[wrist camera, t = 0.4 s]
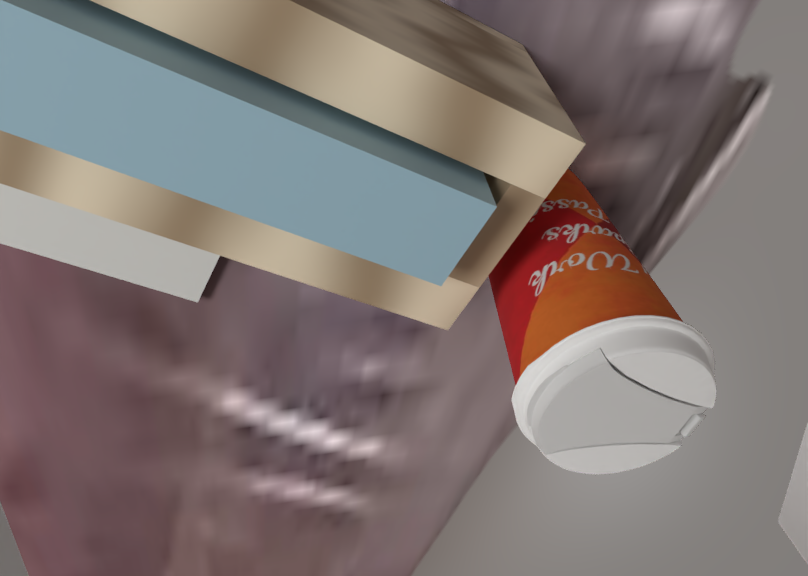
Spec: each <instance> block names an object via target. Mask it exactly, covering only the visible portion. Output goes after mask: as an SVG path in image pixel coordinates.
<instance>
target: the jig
mask: <svg viewBox="0 0 808 576" xmlns="http://www.w3.org/2000/svg"><path fill="white" fill-rule="evenodd" d="M90 1H93V2H95V3H97V4H100V5H102V6H104V7H106V8H109V9H111V10H113V11H116V12H118V13H120V14H122V15H125V16H127V17H129V18H132V19H134V20H136V21H139V22H141V23H143V24H145V25H148V26H150V27H152V28H155V29H157V30H159V31H161V32H164V33H166V34H168V35H171V36H173V37H175V38H178V39H180V40H182V41H184V42H187V43H189V44H191V45H194V46H196V47H198V48H200V49H203V50H205V51H207V52H210V53H212V54H214V55H217V56H219V57H221V58H223V59H226V60H228V61H230V62H233V63H235V64H237V65H239V66H242V67H244V68H246V69H249V70H251V71H253V72H256V73H258V74H260V75H262V76H265V77H267V78H269V79H272V80H274V81H276V82H278V83H281V84H283V85H285V86H288V87H290V88H292V89H295V90H297V91H299V92H301V93H304V94H306V95H308V96H311V97H313V98H315V99H317V100H320V101H322V102H324V103H327V104H329V105H331V106H334V107H336V108H338V109H340V110H343V111H345V112H347V113H350V114H352V115H354V116H356V117H359V118H361V119H363V120H366V121H368V122H370V123H373V124H375V125H377V126H379V127H382V128H384V129H386V130H389V131H391V132H393V133H395V134H398V135H400V136H402V137H405V138H407V139H409V140H412V141H414V142H416V143H418V144H421V145H423V146H425V147H428V148H430V149H432V150H434V151H437V152H439V153H441V154H444V155H446V156H448V157H451V158H453V159H455V160H457V161H460V162H462V163H464V164H467V165H469V166H471V167H473V168H476V169H478V170H480V171H483V173H484V176H485V178H486V181H487V183H488V186H489V188H490V191H491V193H492V196H493V198H494V201H495V203H496V206H497V208H496V209H495V210H494V212H493V213H492V215H491V216H490V218H489V219H488V220H487V222H486V223H485V225H484V226H483V227H482V229H481V230H480V232H479V233H478V235H477V236H476V237H475V239H474V240H473V242H472V243H471V245H470V246H469V247H468V249H467V250H466V252H465V253H464V255H463V256H462V257H461V259H460V260H459V262H458V263H457V264H456V266H455V267H454V269H453V270H452V272H451V273H450V274H449V276H448V277H447V279H446V280H445V282H444V283H443V284H442V286H439V285H436V284H433V283H430V282H428V281H425V280H422V279H419V278H416V277H414V276H411V275H408V274H405V273H402V272H399V271H397V270H394V269H391V268H388V267H385V266H382V265H380V264H377V263H374V262H371V261H368V260H366V259H363V258H360V257H357V256H354V255H351V254H349V253H346V252H343V251H340V250H337V249H334V248H332V247H329V246H326V245H323V244H320V243H318V242H315V241H312V240H309V239H306V238H303V237H301V236H298V235H295V234H292V233H289V232H286V231H284V230H281V229H278V228H275V227H272V226H269V225H267V224H264V223H261V222H258V221H255V220H253V219H250V218H247V217H244V216H241V215H238V214H236V213H233V212H230V211H227V210H224V209H221V208H219V207H216V206H213V205H210V204H207V203H205V202H202V201H199V200H196V199H193V198H190V197H188V196H185V195H182V194H179V193H176V192H173V191H171V190H168V189H165V188H162V187H159V186H157V185H154V184H151V183H148V182H145V181H142V180H140V179H137V178H134V177H131V176H128V175H125V174H123V173H120V172H117V171H114V170H111V169H109V168H106V167H103V166H100V165H97V164H94V163H92V162H89V161H86V160H83V159H80V158H77V157H75V156H72V155H69V154H66V153H63V152H61V151H58V150H55V149H52V148H49V147H46V146H44V145H41V144H38V143H35V142H32V141H29V140H27V139H24V138H21V137H18V136H15V135H12V134H10V133H7V132H4V131H1V130H0V183H1V184H4V185H7V186H10V187H13V188H16V189H19V190H22V191H25V192H28V193H31V194H34V195H37V196H40V197H43V198H46V199H49V200H52V201H55V202H58V203H61V204H65V205H68V206H71V207H74V208H77V209H80V210H83V211H86V212H89V213H92V214H95V215H98V216H101V217H104V218H107V219H110V220H113V221H116V222H119V223H122V224H125V225H129V226H132V227H135V228H138V229H141V230H144V231H147V232H150V233H153V234H156V235H159V236H162V237H165V238H168V239H171V240H174V241H177V242H180V243H183V244H186V245H189V246H192V247H196V248H199V249H202V250H205V251H208V252H211V253H214V254H217V255H220V256H223V257H226V258H229V259H232V260H235V261H238V262H241V263H244V264H247V265H250V266H253V267H256V268H259V269H263V270H266V271H269V272H272V273H275V274H278V275H281V276H284V277H287V278H290V279H293V280H296V281H299V282H302V283H305V284H308V285H311V286H314V287H317V288H320V289H323V290H327V291H330V292H333V293H336V294H339V295H342V296H345V297H348V298H351V299H354V300H357V301H360V302H363V303H366V304H369V305H372V306H375V307H378V308H381V309H384V310H387V311H390V312H394V313H397V314H400V315H403V316H406V317H409V318H412V319H415V320H418V321H421V322H424V323H427V324H430V325H433V326H436V327H439V328H442V329H445V330H448V329H449V328H450V327H451V325H452V324H453V323H454V321H455V320H456V319H457V317H458V316H459V315H460V313H461V312H462V311H463V309H464V308H465V306H466V305H467V304H468V302H469V301H470V300H471V298H472V297H473V296H474V294H475V293H476V292H477V290H478V289H479V288H480V286H481V285H482V284H483V282H484V281H485V279H486V278H487V277H488V275H489V274H490V273H491V271H492V270H493V269H494V267H495V266H496V265H497V263H498V262H499V261H500V259H501V258H502V257H503V255H504V254H505V252H506V251H507V250H508V248H509V247H510V246H511V244H512V243H513V242H514V240H515V239H516V238H517V236H518V235H519V234H520V232H521V231H522V230H523V228H524V227H525V225H526V224H527V223H528V221H529V220H530V219H531V217H532V216H533V215H534V213H535V212H536V211H537V209H538V208H539V207H540V205H541V204H542V203H543V201H544V200H545V198H546V197H547V196H548V194H549V193H550V192H551V190H552V189H553V188H554V186H555V185H556V184H557V182H558V181H559V180H560V178H561V177H562V176H563V174H564V173H565V171H566V170H567V169H568V167H569V166H570V165H571V163H572V162H573V161H574V159H575V158H576V157H577V155H578V154H579V153H580V151H581V150H582V149H583V147H584V146H585V144H586V143H585V142H584V140H583V139H582V137H581V135H580V134H579V132H578V131H577V129H576V128H575V126H574V124H573V123H572V121H571V120H570V118H569V117H568V115H567V114H566V112H565V110H564V109H563V107H562V106H561V104H560V103H559V101H558V99H557V98H556V96H555V95H554V93H553V92H552V90H551V89H550V87H549V85H548V84H547V82H546V81H545V79H544V78H543V76H542V74H541V73H540V71H539V70H538V68H537V67H536V65H535V64H534V62H533V60H532V59H531V57H530V56H529V54H528V53H527V51H526V49H525V48H524V46H523V45H522V44H520V43H518V42H517V41H515V40H513V39H511V38H509V37H507V36H505V35H503V34H501V33H500V32H498V31H496V30H494V29H492V28H490V27H488V26H486V25H484V24H483V23H481V22H479V21H477V20H475V19H473V18H471V17H469V16H467V15H466V14H464V13H462V12H460V11H458V10H456V9H454V8H452V7H450V6H449V5H447V4H445V3H443V2H441V1H439V0H90Z"/></svg>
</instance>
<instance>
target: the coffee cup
mask: <svg viewBox="0 0 808 576" xmlns="http://www.w3.org/2000/svg"><path fill="white" fill-rule="evenodd" d="M489 279H490V283H491V287H492V291H493V295H494V300H495V304H496V308H497V312H498V316H499V320H500V324H501V328H502V332H503V336H504V340H505V344H506V348H507V352H508V356H509V360H510V364H511V368H512V372H513V376H514V380H515V384H516V386H515V388H514V392H513V395H512V399H511V400H512V404H513V408H514V412H515V417H516V421H517V424H518V426H519V428H520V430H521V431H522V433H523V434H524V435H525V436H526V437H527V439H529V440H530V441H531V442H532V443H534V444H535V445H536V446H537V447H538V448H539V449H540V451H541V453H542V454H543V455H544V456H545V457H546V458H547V459H549V460H550V461H551V462H553V463H554V464H556V465H558V466H559V467H562V468H563V469H567V470H570V471H573V472H578V473H584V474H609V473H616V472H623V471H627V470H631V469H635V468H638V467H641V466H644V465H647V464H650V463H652V462H654V461H657V460H659V459H661V458H663V457H665V456H666V455H668V454H670V453H672V452H673V451H675V450H677V449H678V448H680V447H681V446H682V441H681V439H682V438H683V437H689V436H690V435H691V434H692V433H693V432H694V430H695V429H696V428H697V427H698V426H699V424H700V423H701V422H702V420H704V418H705V417H706V415H704V414H703V413H704V412H705V411H706V409H707V408H713V407H714V404H715V401H716V390H717V388H716V381H715V376H714V370H715V360H714V354H713V351H712V349H711V346H710V344H709V342H708V341H707V340H706V339H705V337H704V336H703V335H702V334H701V333H700V332H699V331H698V330H696V329H695V328H694V327H692V326H690V325H688V324H686V323H684V322H683V321H682V320H681V318H680V317H679V315H678V314H677V313H676V311H675V310H674V308H673V307H672V306H671V304H670V303H669V302H668V300H667V299H666V297H665V296H664V295H663V293H662V292H661V290H660V289H659V288H658V286H657V285H656V283H655V282H654V281H653V279H652V278H651V276H650V275H649V274H648V272H647V271H646V270H645V268H644V267H643V265H642V264H641V263H640V261H639V260H638V258H637V257H636V256H635V254H634V253H633V251H632V250H631V249H630V247H629V246H628V245H627V243H626V242H625V240H624V239H623V238H622V236H621V235H620V233H619V232H618V231H617V229H616V228H615V227H614V225H613V224H612V222H611V221H610V220H609V218H608V217H607V216H606V214H605V213H604V212H603V210H602V209H601V207H600V206H599V205H598V203H597V202H596V201H595V199H594V198H593V197H592V195H591V194H590V193H589V191H588V190H587V189H586V187H585V186H584V185H583V184H582V182H581V181H580V180H579V179H578V178H577V176H576V175H575V174H574V173H573V172H572V171H570V170H569V169H567V170H566V171H565V173H564V174H563V176H562V177H561V178H560V180H559V181H558V182H557V184H556V185H555V186H554V188H553V189H552V190H551V192H550V193H549V194H548V196H547V197H546V198H545V200H544V201H543V203H542V204H541V205H540V207H539V208H538V209H537V211H536V212H535V213H534V215H533V216H532V217H531V219H530V220H529V221H528V223H527V224H526V225H525V227H524V228H523V230H522V231H521V232H520V234H519V235H518V236H517V238H516V239H515V240H514V242H513V243H512V244H511V246H510V247H509V248H508V250H507V251H506V252H505V254H504V255H503V257H502V258H501V259H500V261H499V262H498V263H497V265H496V266H495V267H494V269H493V270H492V271H491V273H490V274H489Z"/></svg>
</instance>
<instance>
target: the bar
mask: <svg viewBox="0 0 808 576" xmlns="http://www.w3.org/2000/svg"><path fill="white" fill-rule="evenodd" d="M0 130H1V131H4V132H7V133H10V134H12V135H15V136H18V137H21V138H24V139H27V140H29V141H32V142H35V143H38V144H41V145H44V146H46V147H49V148H52V149H55V150H58V151H61V152H63V153H66V154H69V155H72V156H75V157H77V158H80V159H83V160H86V161H89V162H92V163H94V164H97V165H100V166H103V167H106V168H109V169H111V170H114V171H117V172H120V173H123V174H125V175H128V176H131V177H134V178H137V179H140V180H142V181H145V182H148V183H151V184H154V185H157V186H159V187H162V188H165V189H168V190H171V191H173V192H176V193H179V194H182V195H185V196H188V197H190V198H193V199H196V200H199V201H202V202H205V203H207V204H210V205H213V206H216V207H219V208H221V209H224V210H227V211H230V212H233V213H236V214H238V215H241V216H244V217H247V218H250V219H253V220H255V221H258V222H261V223H264V224H267V225H269V226H272V227H275V228H278V229H281V230H284V231H286V232H289V233H292V234H295V235H298V236H301V237H303V238H306V239H309V240H312V241H315V242H318V243H320V244H323V245H326V246H329V247H332V248H334V249H337V250H340V251H343V252H346V253H349V254H351V255H354V256H357V257H360V258H363V259H366V260H368V261H371V262H374V263H377V264H380V265H382V266H385V267H388V268H391V269H394V270H397V271H399V272H402V273H405V274H408V275H411V276H414V277H416V278H419V279H422V280H425V281H428V282H430V283H433V284H436V285H439V286H442V284H443V283H444V282H445V280H446V279H447V277H448V276H449V274H450V273H451V272H452V270H453V269H454V267H455V266H456V264H457V263H458V262H459V260H460V259H461V257H462V256H463V255H464V253H465V252H466V250H467V249H468V247H469V246H470V245H471V243H472V242H473V240H474V239H475V237H476V236H477V235H478V233H479V232H480V230H481V229H482V227H483V226H484V225H485V223H486V222H487V220H488V219H489V218H490V216H491V215H492V213H493V212H494V210H495V209H496V208H497V206H496V203H495V201H494V198H493V196H492V193H491V191H490V188H489V186H488V183H487V181H486V178H485V176H484V173H483V171H480V170H478V169H476V168H473V167H471V166H469V165H467V164H464V163H462V162H460V161H457V160H455V159H453V158H451V157H448V156H446V155H444V154H441V153H439V152H437V151H434V150H432V149H430V148H428V147H425V146H423V145H421V144H418V143H416V142H414V141H412V140H409V139H407V138H405V137H402V136H400V135H398V134H395V133H393V132H391V131H389V130H386V129H384V128H382V127H379V126H377V125H375V124H373V123H370V122H368V121H366V120H363V119H361V118H359V117H356V116H354V115H352V114H350V113H347V112H345V111H343V110H340V109H338V108H336V107H334V106H331V105H329V104H327V103H324V102H322V101H320V100H317V99H315V98H313V97H311V96H308V95H306V94H304V93H301V92H299V91H297V90H295V89H292V88H290V87H288V86H285V85H283V84H281V83H278V82H276V81H274V80H272V79H269V78H267V77H265V76H262V75H260V74H258V73H256V72H253V71H251V70H249V69H246V68H244V67H242V66H239V65H237V64H235V63H233V62H230V61H228V60H226V59H223V58H221V57H219V56H217V55H214V54H212V53H210V52H207V51H205V50H203V49H200V48H198V47H196V46H194V45H191V44H189V43H187V42H184V41H182V40H180V39H178V38H175V37H173V36H171V35H168V34H166V33H164V32H161V31H159V30H157V29H155V28H152V27H150V26H148V25H145V24H143V23H141V22H139V21H136V20H134V19H132V18H129V17H127V16H125V15H122V14H120V13H118V12H116V11H113V10H111V9H109V8H106V7H104V6H102V5H100V4H97V3H95V2H93V1H90V0H0Z"/></svg>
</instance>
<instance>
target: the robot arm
mask: <svg viewBox="0 0 808 576" xmlns="http://www.w3.org/2000/svg"><path fill="white" fill-rule="evenodd" d="M778 523H779V524H780V526H781V527H782V529H783V530H784V532H785V533H786V534H787V536H788V537H789V539H790V540H791V542H792V543H793V544H794V546H795V547H796V549H797V550H798V552H799V553H800V554H801V556H802V557H803V559H804V560H805V562H806V563H807V565H808V423H807V426H806V429H805V433H804V436H803V439H802V443H801V446H800V450H799V453H798V456H797V459H796V462H795V466H794V469H793V472H792V476H791V479H790V482H789V486H788V489H787V492H786V495H785V499H784V502H783V505H782V509H781V512H780V515H779V519H778ZM0 576H28V573H27V570H26V568H25V565H24V563H23V560H22V557H21V555H20V552H19V549H18V547H17V544H16V542H15V539H14V536H13V534H12V531H11V529H10V526H9V523H8V521H7V518H6V516H5V513H4V510H3V508H2V505H1V502H0Z"/></svg>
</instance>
